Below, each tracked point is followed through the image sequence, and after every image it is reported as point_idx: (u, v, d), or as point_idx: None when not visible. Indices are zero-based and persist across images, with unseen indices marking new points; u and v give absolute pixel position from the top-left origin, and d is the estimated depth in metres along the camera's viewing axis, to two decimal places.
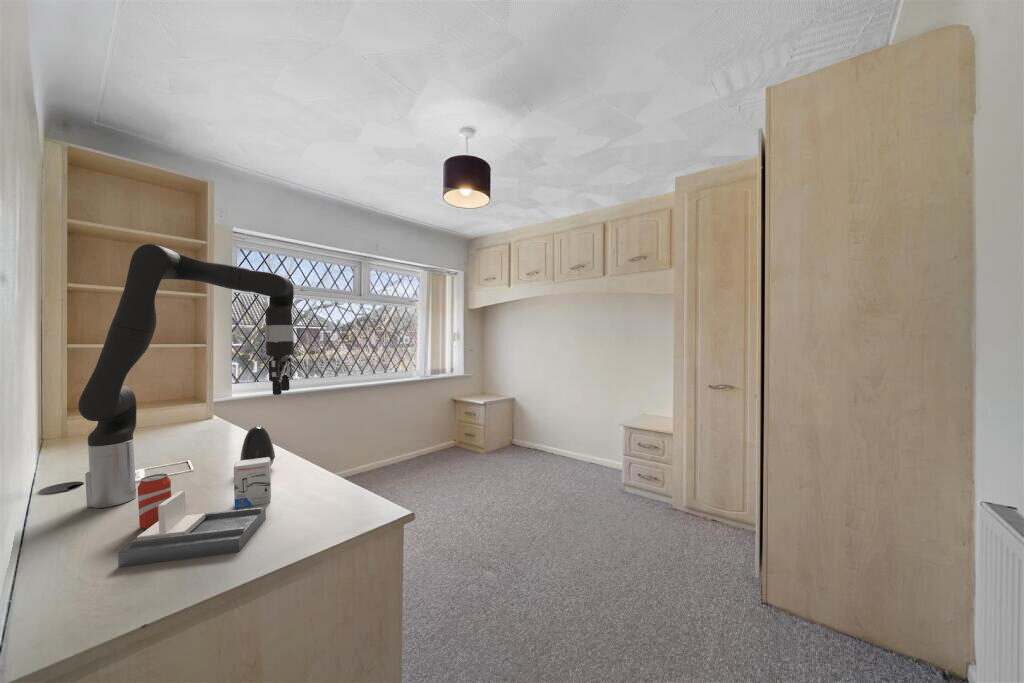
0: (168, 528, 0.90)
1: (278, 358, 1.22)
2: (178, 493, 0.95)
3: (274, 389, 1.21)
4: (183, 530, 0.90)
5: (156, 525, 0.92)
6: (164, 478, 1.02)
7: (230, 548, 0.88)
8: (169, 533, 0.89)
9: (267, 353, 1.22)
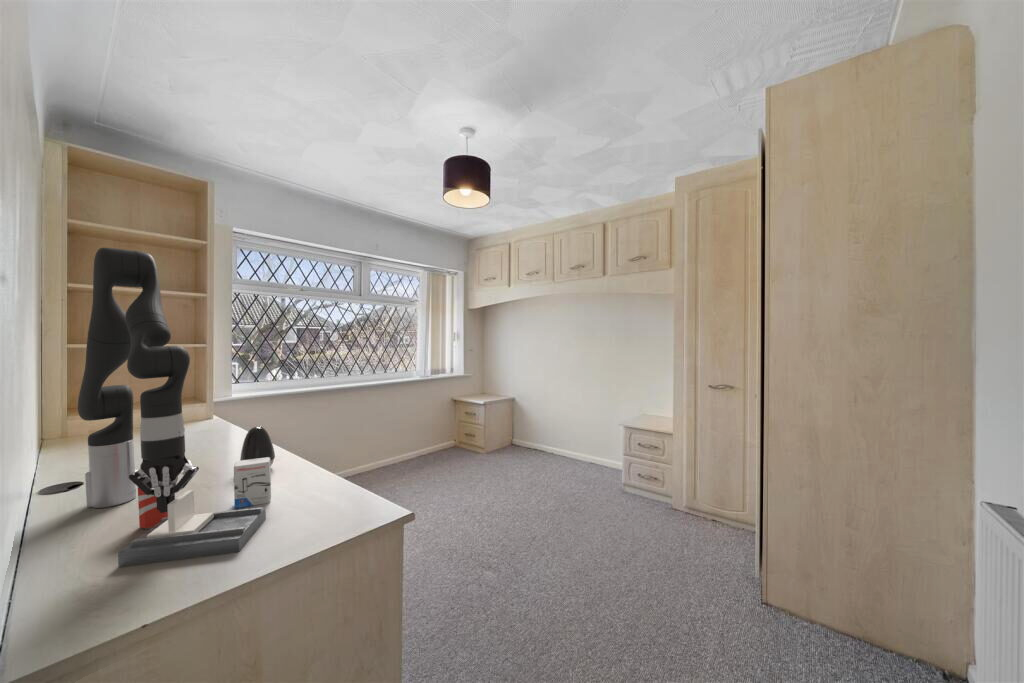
0: (177, 527, 0.90)
1: (184, 456, 0.93)
2: (187, 492, 0.95)
3: None
4: (192, 529, 0.90)
5: (165, 524, 0.93)
6: None
7: (230, 548, 0.88)
8: (178, 532, 0.89)
9: (169, 454, 0.89)
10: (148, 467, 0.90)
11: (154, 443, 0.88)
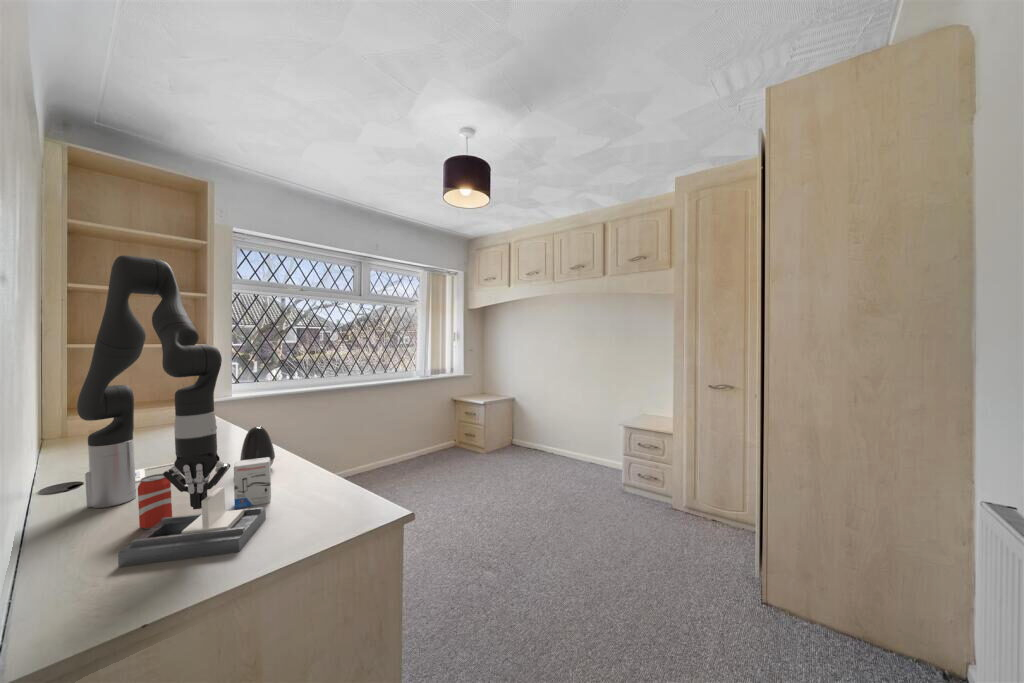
0: (211, 523, 0.92)
1: (216, 454, 0.94)
2: (218, 489, 0.97)
3: None
4: (225, 525, 0.91)
5: (198, 520, 0.94)
6: (164, 478, 1.02)
7: (230, 548, 0.88)
8: (212, 528, 0.90)
9: (202, 452, 0.91)
10: (182, 464, 0.91)
11: (189, 441, 0.89)
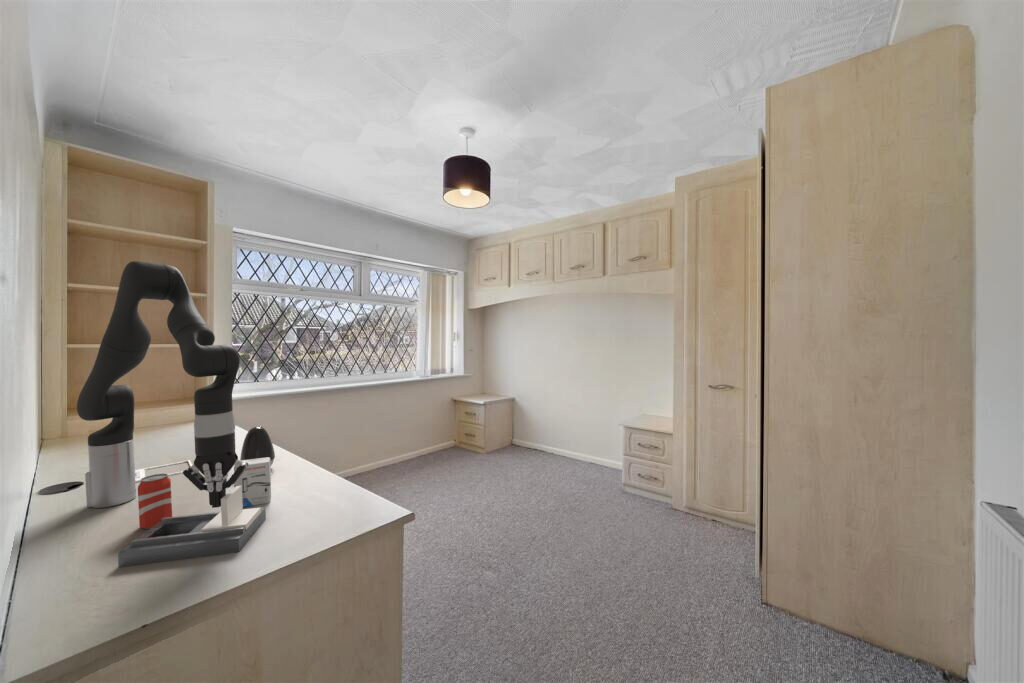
0: (230, 521, 0.92)
1: (235, 453, 0.95)
2: (236, 487, 0.98)
3: None
4: (244, 523, 0.92)
5: (217, 518, 0.95)
6: (164, 478, 1.02)
7: (230, 548, 0.88)
8: (231, 526, 0.91)
9: (222, 451, 0.92)
10: (201, 463, 0.92)
11: (208, 439, 0.90)
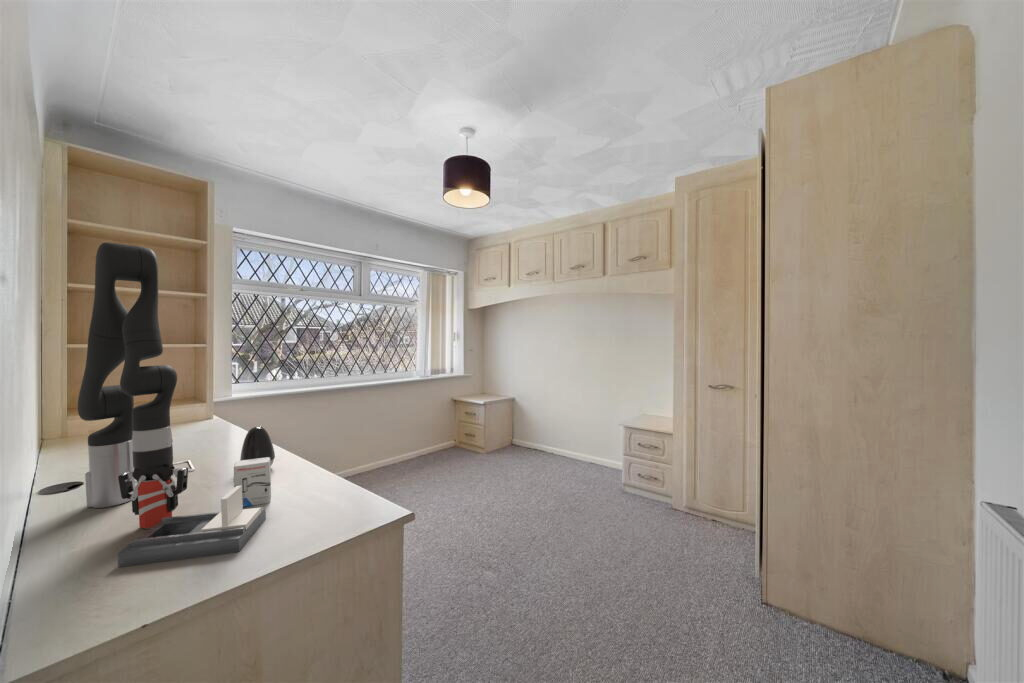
0: (230, 521, 0.92)
1: (172, 465, 1.03)
2: (236, 487, 0.98)
3: (175, 503, 1.03)
4: (244, 523, 0.92)
5: (217, 518, 0.95)
6: None
7: (230, 548, 0.88)
8: (231, 526, 0.91)
9: (158, 463, 0.99)
10: (139, 475, 1.00)
11: (144, 453, 0.98)
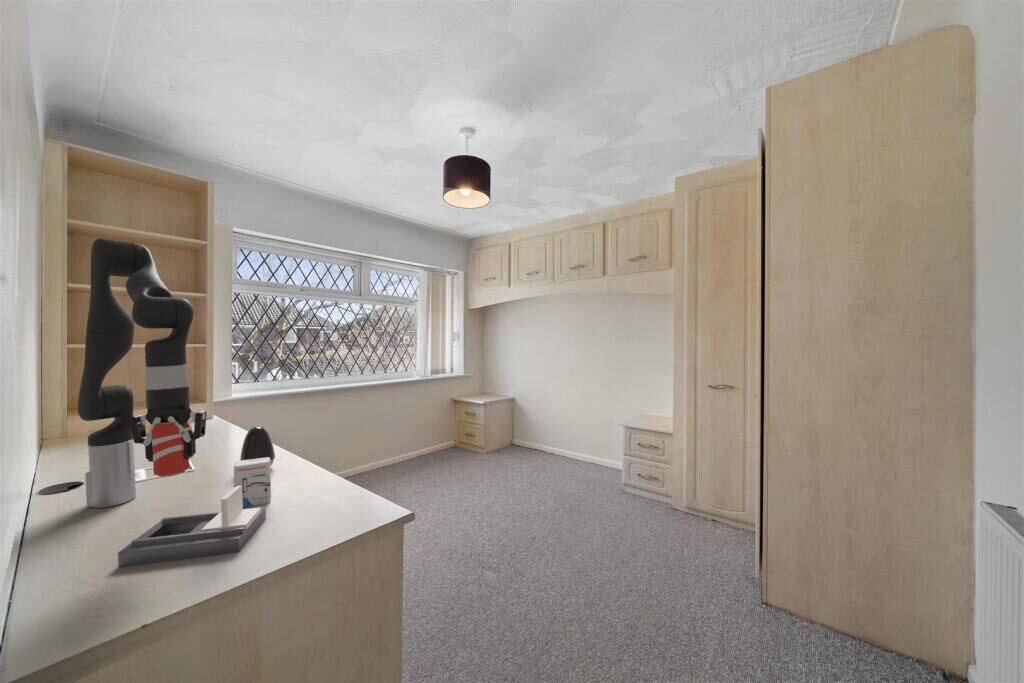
0: (230, 521, 0.92)
1: (189, 408, 0.93)
2: (236, 487, 0.98)
3: (192, 450, 0.93)
4: (244, 523, 0.92)
5: (217, 518, 0.95)
6: None
7: (230, 548, 0.88)
8: (231, 526, 0.91)
9: (174, 404, 0.90)
10: (153, 417, 0.90)
11: (159, 392, 0.88)
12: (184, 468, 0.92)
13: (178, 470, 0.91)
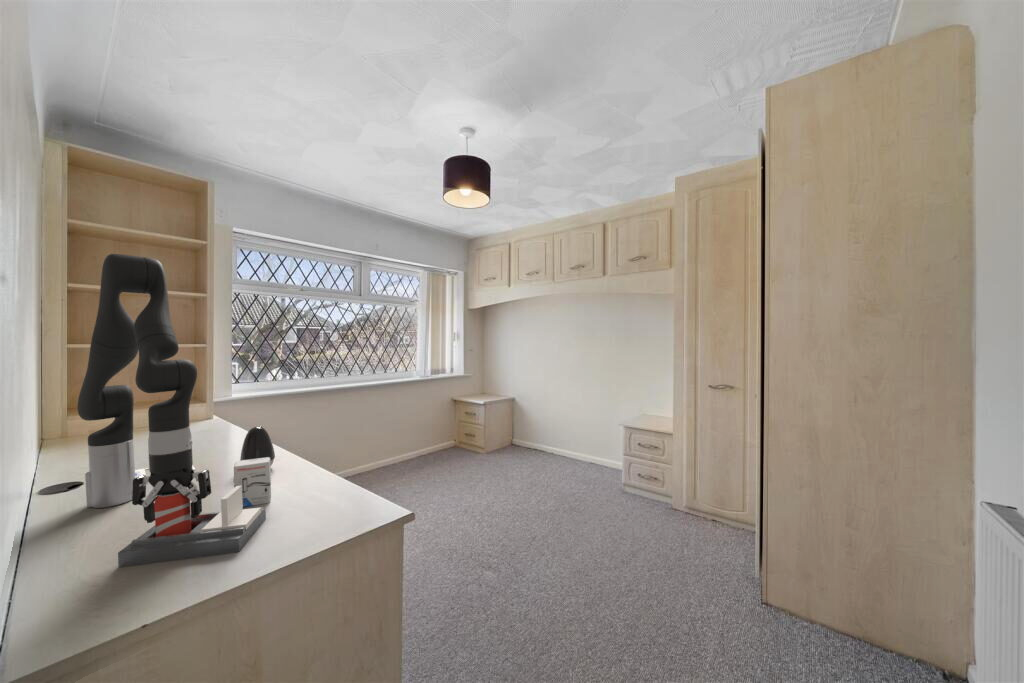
0: (230, 521, 0.92)
1: (192, 469, 0.94)
2: (236, 487, 0.98)
3: (199, 509, 0.93)
4: (244, 523, 0.92)
5: (217, 518, 0.95)
6: None
7: (230, 548, 0.88)
8: (231, 526, 0.91)
9: (177, 468, 0.90)
10: (156, 480, 0.91)
11: (162, 457, 0.88)
12: None
13: None
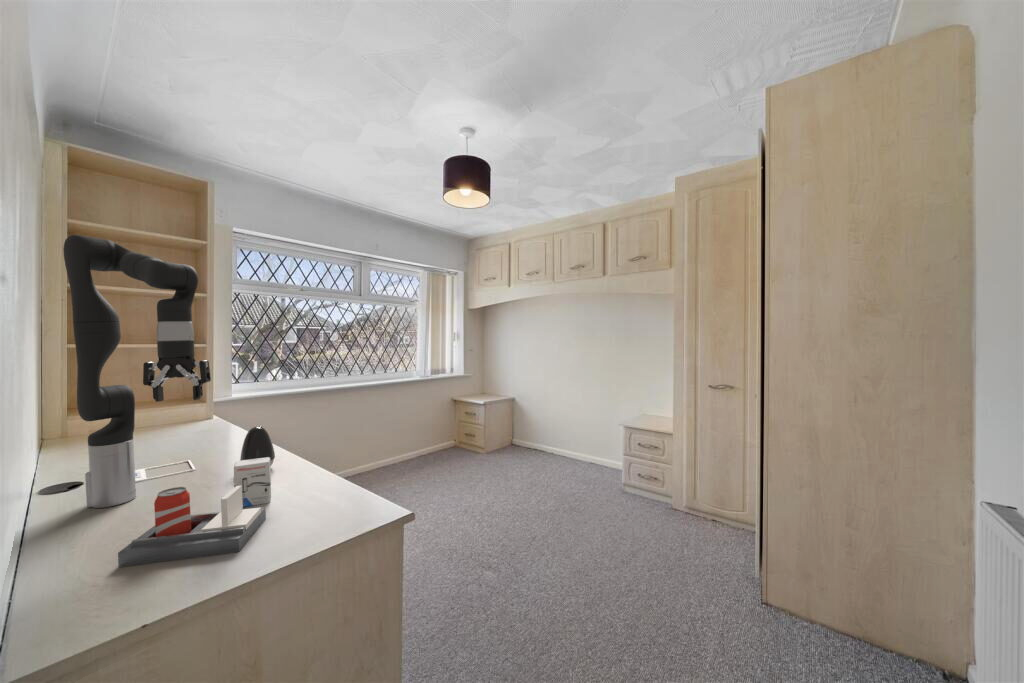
0: (230, 521, 0.92)
1: (194, 359, 1.09)
2: (236, 487, 0.98)
3: (200, 393, 1.08)
4: (244, 523, 0.92)
5: (217, 518, 0.95)
6: (183, 492, 0.92)
7: (230, 548, 0.88)
8: (231, 526, 0.91)
9: (181, 354, 1.05)
10: (163, 365, 1.06)
11: (169, 343, 1.04)
12: None
13: None
